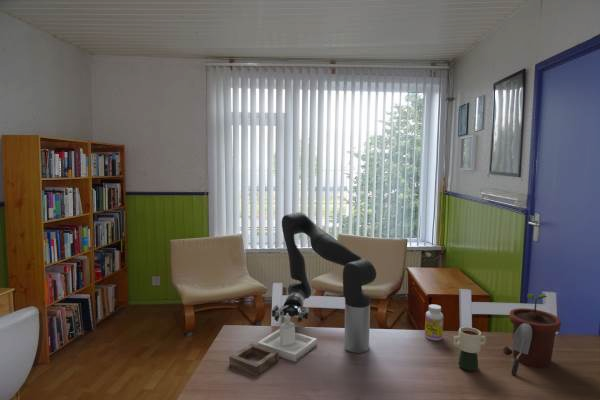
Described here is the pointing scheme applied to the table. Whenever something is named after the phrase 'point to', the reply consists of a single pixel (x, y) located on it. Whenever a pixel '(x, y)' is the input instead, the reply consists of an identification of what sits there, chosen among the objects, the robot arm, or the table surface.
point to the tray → (292, 351)
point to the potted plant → (532, 336)
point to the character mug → (469, 347)
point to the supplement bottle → (434, 323)
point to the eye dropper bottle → (287, 332)
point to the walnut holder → (249, 366)
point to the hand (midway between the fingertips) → (287, 319)
